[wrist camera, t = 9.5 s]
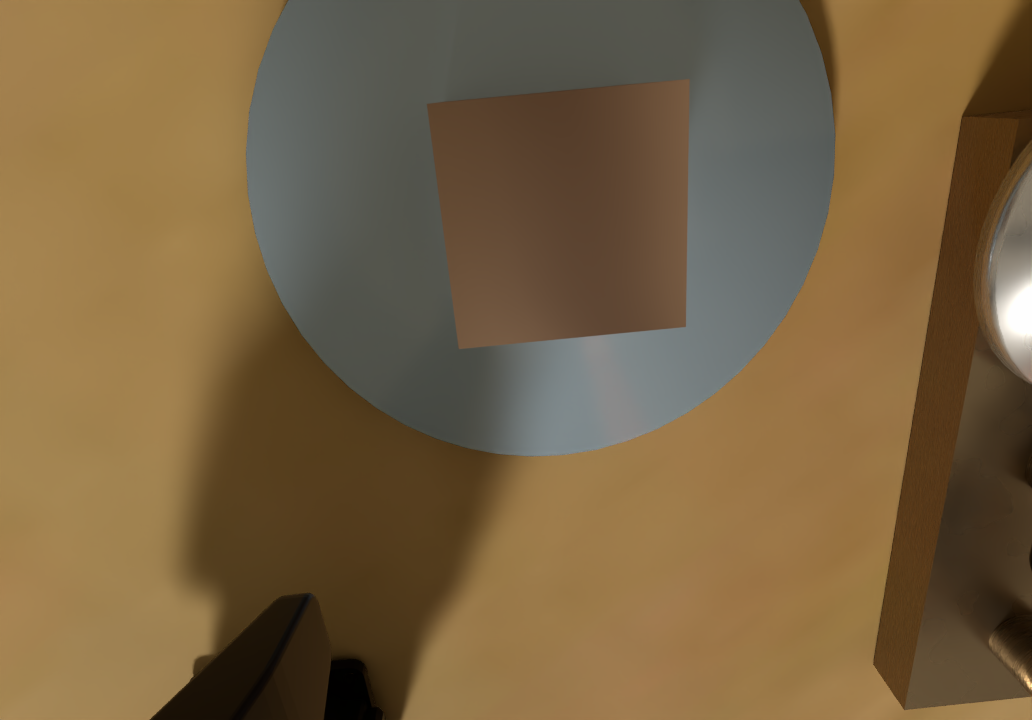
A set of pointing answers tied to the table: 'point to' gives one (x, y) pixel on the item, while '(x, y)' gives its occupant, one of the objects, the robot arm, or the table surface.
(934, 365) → the balance
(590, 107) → the walnut block
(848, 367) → the table surface
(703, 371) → the dish
